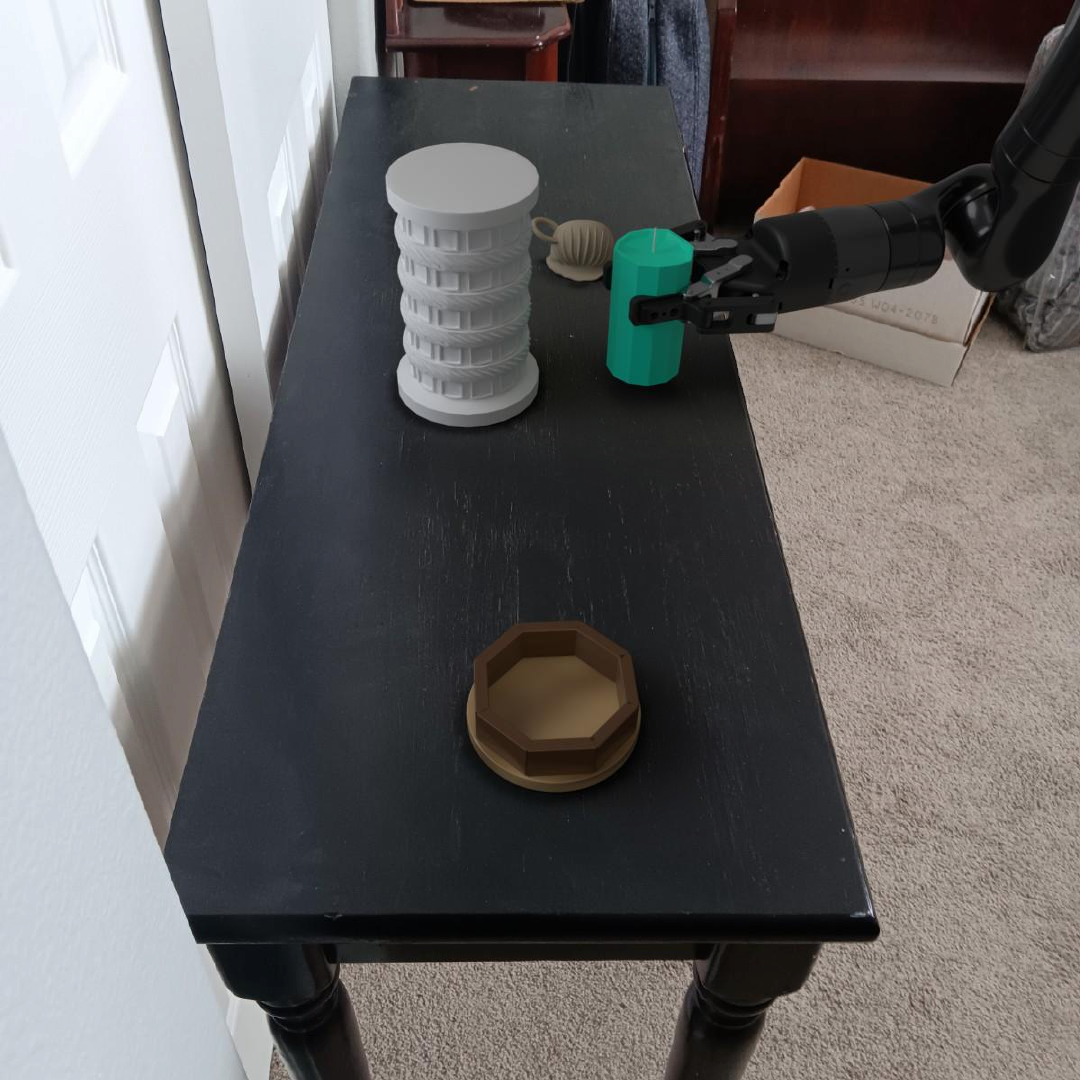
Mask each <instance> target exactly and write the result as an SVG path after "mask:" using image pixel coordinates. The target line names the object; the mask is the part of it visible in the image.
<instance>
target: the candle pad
mask: <svg viewBox="0 0 1080 1080" xmlns="http://www.w3.org/2000/svg"><path fill="white" fill-rule="evenodd" d="M472 663H473V664H472V665H473V683H472V686H471V688H470V690H469V691H470V692H469V694H468V698H467V701H466V702H467V703H466V725H467V732H468V736H469V739H470V741H471V744H472V746H473V748H474V750H475V752H476V753H477V755H478V757H479V758H480V759H481V760H482V761H483V763H484V764H485V765H486V766H487V767H488V768H489V769H490V770H491V771H493V772H494V774H496V775H498V776H500V777H501V778H502V779H504V780H506V781H507V782H510V783H511V784H514V785H516V786H519V787H522V788H525V789H528V790H533V791H536V792H545V793H566V792H574V791H578V790H584V789H586V788H588V787H591V786H595V785H597V784H598V783H600V782H602V781H604V780H606V779H608V778H609V777H610V776H612V775H614V774H615V773H616V772H617V771H618V770H619V769H620V768H621V767H622V766H624V764H625V763H626V762H627V761H628V759H629V757H630V756H631V755H632V753H633V751H634V749H635V747H636V745H637V743H638V742H637V741H638V739H639V735H640V734H639V733H640V730H641V729H640V728H641V718H642V710H641V709H642V708H641V704H640V703H641V702H640V698H639V692H638V686H637V681H636V676H635V669H634V664H633V657H632V654H631V653H630V651H628V650H627V649H626V648H624V647H622V646H620V644H617V643H616V642H614V641H613V640H611V639H610V638H608V637H607V636H605V635H604V634H602V633H601V632H599V631H598V630H596V629H595V628H593V627H591V626H590V625H589V624H587V623H585V622H584V621H581V620H559V621H557V620H556V621H532V622H531V621H530V622H528V621H527V622H518V623H515V624H513V626H511V627H510V628H509V629H508V630H506V631H505V632H504V633H503V634H501V636H500V637H498V638H497V639H496V640H495V641H494V642H492V643H491V644H489V646H488V647H486V648H485V649H484V650H483V651H482V652H481V653H479V654H478V655H477V656H476V657H475V658H473V662H472Z"/></svg>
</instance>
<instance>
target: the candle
mask: <svg viewBox="0 0 1080 1080" xmlns="http://www.w3.org/2000/svg"><path fill="white" fill-rule="evenodd" d="M669 229H670V228H658V227H654V228H651V227H647V228H642V229H638V230H631V231H629V232H627V233H626V234H624V235H623V236H621V237H620V238H619V239H618V240H616V242H615V243H614V252H613V268H612V284H611V290H610V300H609V301H610V302H609V303H610V304H609V317H608V333H607V350H606V351H607V352H606V367H607V368H608V370H609V372H610V373H611V374H612V376H613V377H615V378H617V379H618V380H620V381H623V382H624V383H626V384H629V385H638V386H643V387H650V386H655V385H661V384H665V383H668V382H669V381H671V380H672V379H673V378H675V377H676V376H678V375H679V371H680V364H681V358H682V350H683V349H682V348H683V341H684V332H685V323H681V322H680V321H679V320H673V321H668V322H663V323H662V322H661V323H656V324H652V325H641V326H634V325H633V324H632V323H631V321H630V320H629V318H628V316H629V303H630V300H631V298H633V297H634V296H637V295H649V296H662V295H668V294H674V293H677V292H679V293H680V294H679V295H681V290H682V289H683V288H685V287H687V286H689V283H690V275H691V271H692V263H693V259H692V258H693V250H694V246H692V245H691V244H690V243H689V242H687V241H686V240H684V239H683V238H681V237H680V236H678V235H677V234H675V233H674V232H672V231H671V230H669Z"/></svg>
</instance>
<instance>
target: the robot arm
mask: <svg viewBox="0 0 1080 1080" xmlns="http://www.w3.org/2000/svg"><path fill="white" fill-rule="evenodd" d="M991 149H992V150H991V153H990V163H977V164H973V165H969V166H967V167H964V168H962V169H960V170H959V171H956V172H954V173H953V174H951V175H948V176H947V177H945V178H944V179H941V180H940V181H937V182H936V183H934V184H931V185H929V186H927V187H924V188H923V189H920V190H919V191H916V192H913V193H912V194H909V195H907V196H905V197H902V198H898V199H892V200H886V201H879V202H874V203H873V202H872V203H867V204H863V205H862V204H861V205H836V206H830V207H824V208H817V209H812V210H811V209H810V210H805V211H799V212H794V213H793V212H792V213H788V214H781V215H776V216H769V217H762V218H760V219H758V220H757V221H755V222H754V223H753V224H752V225H751V227H750V228H749V229H748V230H747V231H746V233H744V234H743V235H741V236H718V237H714V236H713V235H712V234H710V233H708V232H707V231H708V222H707V221H706V220H703V219H695V220H693V221H689V222H687V223H683V224H680V225H678V226H674V227H671V228H668V229H669V230H671V231H672V232H674V233H675V234H677V235H678V236H680V237H681V238H683V239H684V240H686V241H687V242H689V243H690V244H691V245H692V246H694V250H693V258H692V267H691V275H690V283H689V286H687V287H685V288H683V289H682V290H681V295H679V294H680V293H679V292H677V293H674V294H668V295H662V296H649V295H637V296H634V297H633V298H631V300H630V303H629V316H628V318H629V320H630V321H631V323H632V324H633V325H634V326H641V325H652V324H656V323H661V322H662V323H663V322H668V321H673V320H679V321H680V322H681V323H685V324H686V325H689V324H693V325H695V332H696V333H697V334H698V335H702V336H709V335H739V334H740V335H741V334H743V335H744V334H771V333H773V332H774V331H775V328H776V327H775V326H776V322H777V319H778V315H782V314H788V313H793V312H799V311H805V310H810V309H814V308H819V307H820V308H821V307H824V306H829V305H835V304H840V303H845V302H849V301H853V300H855V299H858V298H861V297H864V296H867V295H871V294H876V293H880V292H881V293H882V292H886V291H891V290H896V289H897V290H898V289H903V288H907V287H912V286H916V285H919V284H922V283H925V282H927V281H928V280H930V279H932V278H933V277H934V276H935V275H936V274H937V272H938V271H939V270H940V269H941V266H942V264H943V263H944V259H945V254H946V248H947V250H948V252H949V254H950V255H951V257H952V259H953V261H954V263H955V264H956V266H957V268H958V270H959V272H960V274H961V276H962V277H963V279H964V280H965V281H966V283H967V284H968V285H969V286H971V287H972V288H974V289H976V291H977V290H978V291H980V292H983V293H992V294H994V293H995V294H996V293H1001V292H1006V291H1009V290H1012V289H1014V288H1016V287H1018V286H1021V284H1023V283H1025V282H1026V281H1028V280H1029V279H1030V278H1031V277H1032V276H1034V275H1035V274H1036V273H1037V271H1038V270H1039V269H1040V268H1041V267H1042V266H1043V265H1044V264H1045V263H1046V261H1047V259H1048V258H1049V256H1050V255H1051V253H1052V252H1053V249H1054V248H1055V246H1056V243H1057V242H1058V239H1059V236H1060V234H1061V231H1062V229H1063V227H1064V224H1065V221H1066V219H1067V216H1068V214H1069V210H1070V209H1071V206H1072V204H1073V200H1074V199H1075V195H1076V192H1077V190H1078V186H1079V184H1080V0H1075V1H1074V2H1073V5H1072V8H1071V9H1070V12H1069V14H1068V17H1067V18H1066V21H1065V24H1064V26H1063V28H1062V30H1061V33H1060V35H1059V37H1058V39H1057V41H1056V43H1055V44H1054V46H1053V48H1052V50H1051V52H1050V54H1049V56H1048V57H1047V59H1046V61H1045V63H1044V65H1043V67H1042V68H1041V69H1040V71H1039V73H1038V75H1037V76H1036V78H1035V79H1034V81H1033V83H1032V84H1031V86H1030V87H1029V89H1028V90H1027V92H1026V93H1025V95H1024V96H1023V98H1022V99H1021V101H1020V102H1019V104H1018V106H1017V107H1016V109H1015V110H1014V112H1013V113H1012V115H1011V117H1010V118H1009V119H1008V121H1007V122H1006V124H1005V126H1004V127H1003V129H1002V130H1001V132H999V135H998V137H997V138H996V140H995V141H994V143H993V146H992V148H991ZM612 268H613V260H611V261H607V262H606V263H605V264H604V266H603V276H602V285H603V286H604V288H605V289H606V290H607V291H611V284H612ZM727 312H728V316H727V318H726V319H716V320H715V319H714V318H717V317H719V316H721V315H723V314H726V313H727Z"/></svg>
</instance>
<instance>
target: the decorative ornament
mask: <svg viewBox="0 0 1080 1080" xmlns="http://www.w3.org/2000/svg"><path fill="white" fill-rule="evenodd" d="M531 220H532V227H533V229H532V233H533V235H535V236H536V237H537V238H539V240H541V241H543V242H545V243H547V244H550V252H549V255H547V257H546V258H545V262H546V265H547V267H548V268H549V269H550V270H551V271H552V272H554V273H555V274H557V275H560V276H562V277H563V278H564V279H570V280H572V281H574V282H577V283H578V282H579V283H580V282H581V283H582V282H595V281H597V280H599V279H600V278H602V277H603V266H604V264H605V263H606V262H607V261H611V260H613V252H614V247H615V241H614V235H613V233H612V231H611V230H610V228H609V227H608V226H607V225H605V224H604V223H602V222H600V221H597V220H592V219H591V220H590V219H574V220H573V219H572V220H568V221H566V222H563V223H561V224H560V225H559V224H558V223H557V222H556V221H554V220H552V219H550V218H548V217H544V216H536V217H534V218H533V219H531ZM537 224H543V225H545V226H547V227H549V228H551V229H552V230H553V234H552V236H549V235H547V234H545V233H543V232H542V231H541V230H540V229H539V228H538V227H537Z"/></svg>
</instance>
